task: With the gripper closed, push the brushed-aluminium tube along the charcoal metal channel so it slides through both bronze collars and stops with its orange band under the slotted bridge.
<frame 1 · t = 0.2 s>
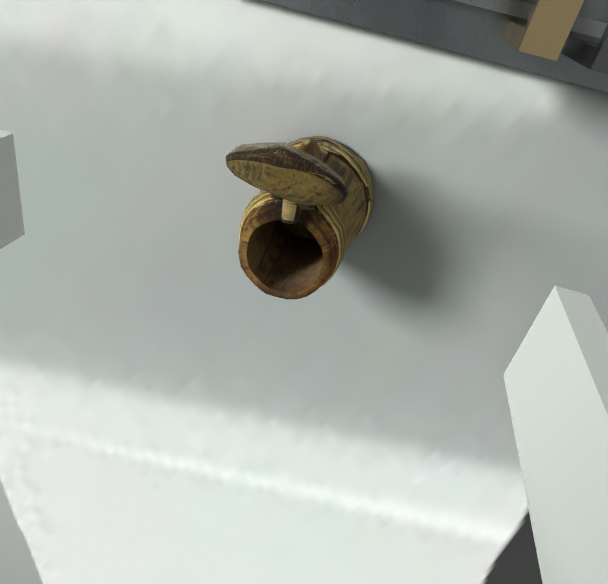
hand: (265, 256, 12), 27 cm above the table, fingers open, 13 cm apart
wooden mug: (324, 166, 39), on the table
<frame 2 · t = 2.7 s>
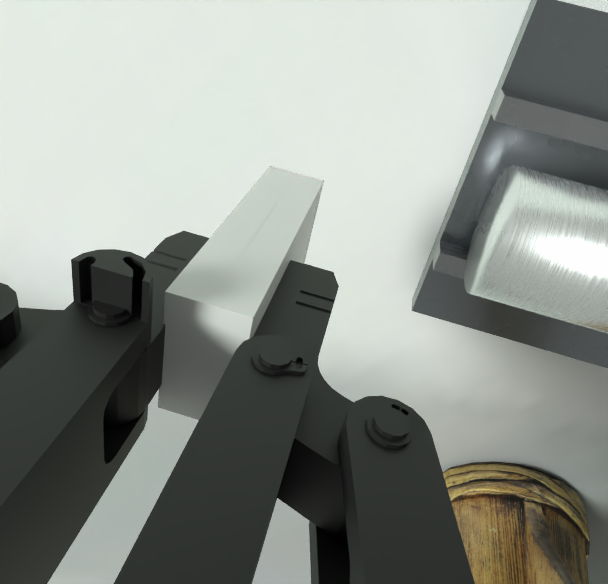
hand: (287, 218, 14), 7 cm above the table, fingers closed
wooden mug: (514, 486, 28), on the table
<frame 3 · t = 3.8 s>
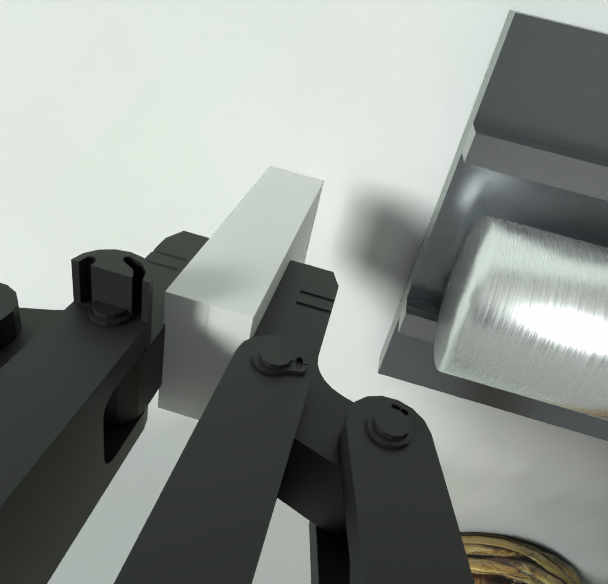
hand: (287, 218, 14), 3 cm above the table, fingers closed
wooden mug: (502, 557, 25), on the table
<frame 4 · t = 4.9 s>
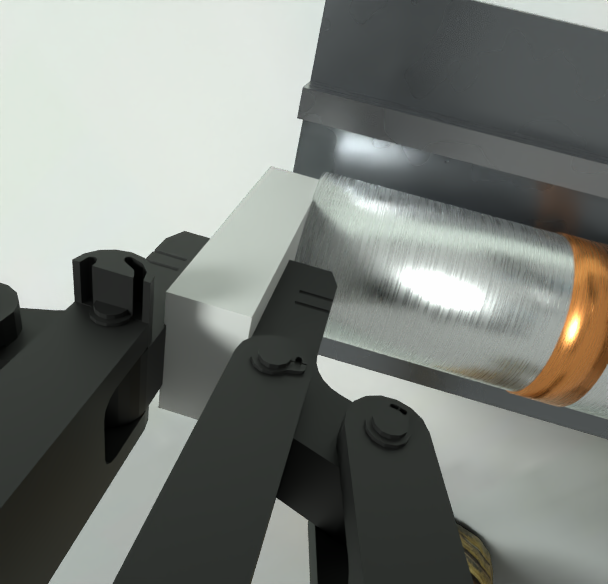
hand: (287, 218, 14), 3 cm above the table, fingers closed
tube: (548, 263, 15), point 1 cm above the table, tilted 16°, touching dark grey base rail, gripper
wooden mug: (413, 529, 25), on the table
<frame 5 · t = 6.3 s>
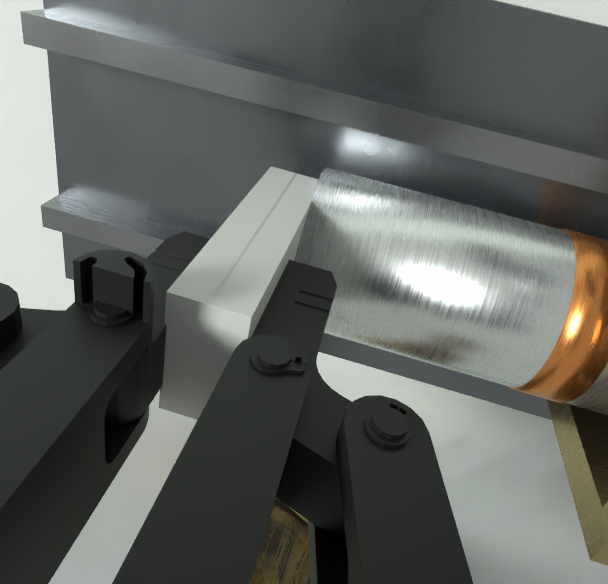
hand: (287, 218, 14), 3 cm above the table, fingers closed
dark grey base rail: (508, 233, 16), on the table
tube: (550, 258, 15), point 1 cm above the table, tilted 17°, touching gripper
wooden mug: (259, 478, 26), on the table
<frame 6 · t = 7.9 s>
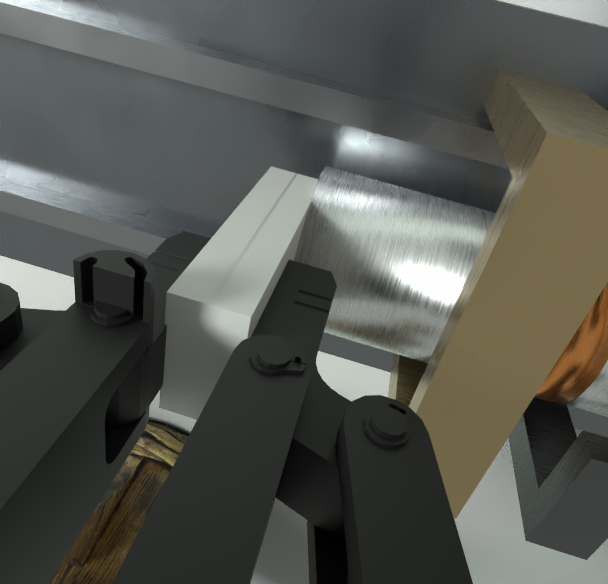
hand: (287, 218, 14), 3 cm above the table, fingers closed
dark grey base rail: (348, 189, 17), on the table
aperture bridge: (577, 253, 16), resting on dark grey base rail
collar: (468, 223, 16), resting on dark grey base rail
tube: (549, 259, 15), point 1 cm above the table, tilted 17°, touching dark grey base rail, gripper
wooden mug: (159, 445, 26), on the table
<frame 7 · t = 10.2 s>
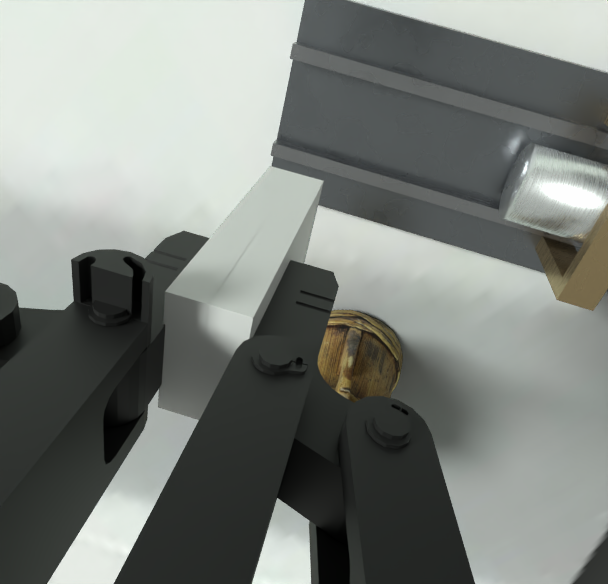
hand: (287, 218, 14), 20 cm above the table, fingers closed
dark grey base rail: (519, 163, 31), on the table
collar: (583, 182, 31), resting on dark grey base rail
wooden mug: (355, 331, 41), on the table
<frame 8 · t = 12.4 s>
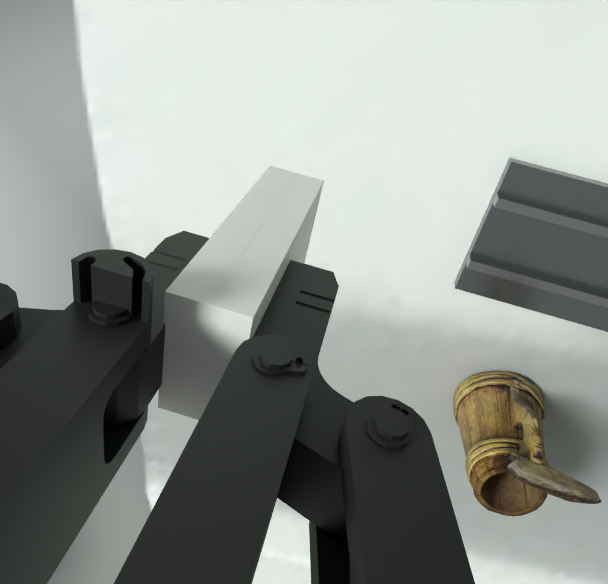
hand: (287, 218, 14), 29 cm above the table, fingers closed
wooden mug: (505, 386, 52), on the table
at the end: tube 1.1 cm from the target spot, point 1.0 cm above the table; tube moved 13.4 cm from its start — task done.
